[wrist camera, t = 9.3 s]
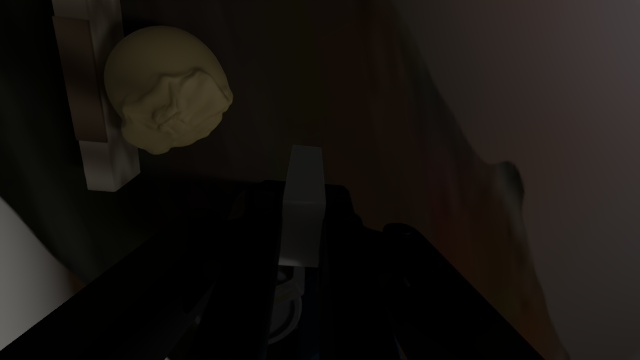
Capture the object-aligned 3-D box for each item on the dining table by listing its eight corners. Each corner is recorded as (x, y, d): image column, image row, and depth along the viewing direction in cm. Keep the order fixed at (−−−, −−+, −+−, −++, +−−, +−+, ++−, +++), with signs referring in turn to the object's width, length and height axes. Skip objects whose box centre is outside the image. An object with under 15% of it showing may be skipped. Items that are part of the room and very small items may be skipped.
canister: (257, 256, 49) (223, 387, 30) (217, 202, 45) (151, 313, 26) (320, 227, 47) (326, 346, 28) (284, 168, 43) (264, 261, 25)
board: (140, 172, 43) (114, 193, 37) (116, 170, 43) (86, 190, 37) (115, -40, 34) (74, -58, 28) (84, -44, 33) (36, -62, 28)
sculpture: (185, 148, 42) (145, 181, 32) (115, 66, 38) (45, 74, 28) (256, 100, 40) (237, 119, 30) (190, 6, 35) (142, -8, 26)
